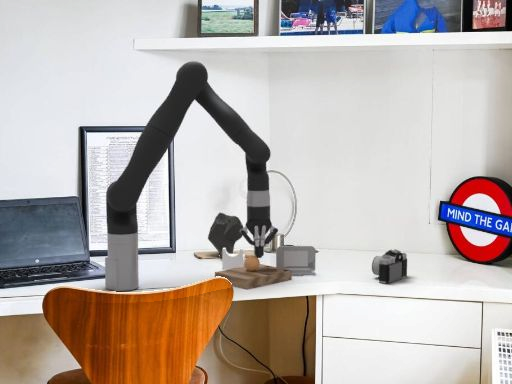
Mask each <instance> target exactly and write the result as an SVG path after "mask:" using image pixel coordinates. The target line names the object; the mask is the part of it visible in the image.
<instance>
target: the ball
mask: <svg viewBox="0 0 512 384" xmlns="http://www.w3.org/2000/svg"><path fill="white" fill-rule="evenodd" d="M260 264H261V262H260V258H257V257H256V256H255V255H249V256H247V257H245V262H244V267H245V268H246V269H247V270H249V271H255V270H257V269H258V268H259V265H260Z"/></svg>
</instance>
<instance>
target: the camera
mask: <svg viewBox="0 0 512 384" xmlns="http://www.w3.org/2000/svg"><path fill="white" fill-rule="evenodd" d="M407 255H408V254H407V253H405V252H402V251H401V250H398V249H396V248H394V249H389V250H387V251H385V253H383V254H382V255H376V256H375V257H374V258H373V260H372V263H371V272H372V273H373V274H374V275H376V276H378V283H380V284H390V283H393V282H394V283H395V282H397V281H399V280H402V279H403V280H404V279H405V278H407V277H408V257H407Z"/></svg>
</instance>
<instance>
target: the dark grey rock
mask: <svg viewBox="0 0 512 384" xmlns="http://www.w3.org/2000/svg"><path fill="white" fill-rule="evenodd" d="M243 228H244V226H243V224H242V221H241V219H240V218H239V217H238V216H236V215H230V214H229V215H228V214H226V213H224V212H218V214H217V215H216V216H215V218H214V221H213V223H212V225H211V226H210V228H209V231H208V232H209V233H208V235H207V240H208V241H209V242H210V243H211V244H212V245H213V247H214V248H215V249H216V251H217V252H218V255H220V256H221V257H220V258H222V249H223V248H226V251H227V252H228V253H229V254H234V250H235V244H236V242H237V241H239V240H241V239H242V237H243V235H242V234H241V233H240V232H239V230H240V229H243Z"/></svg>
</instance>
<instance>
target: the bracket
mask: <svg viewBox="0 0 512 384" xmlns="http://www.w3.org/2000/svg"><path fill="white" fill-rule="evenodd" d="M221 259H222V261H221V262H222V268H221V271H224V270H229V269H235V268H240V267H245V265H244V262H245V259H246V254H245V253H244V247H240V249H239V252H238V253H233V254H229V253H228V252H227V251H226V248H223V249H222V257H221Z"/></svg>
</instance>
